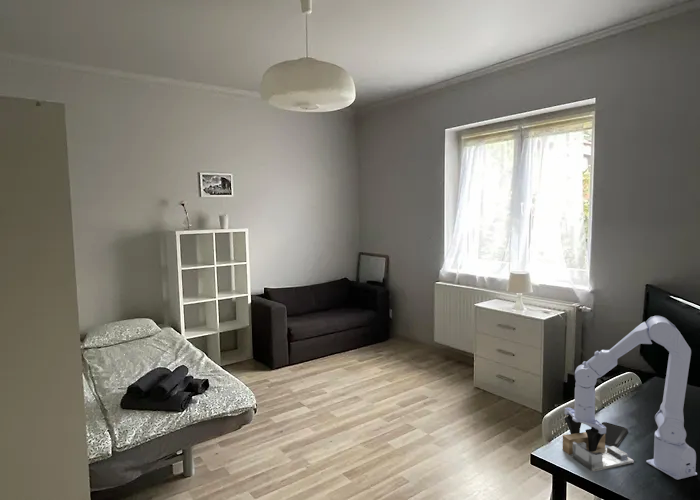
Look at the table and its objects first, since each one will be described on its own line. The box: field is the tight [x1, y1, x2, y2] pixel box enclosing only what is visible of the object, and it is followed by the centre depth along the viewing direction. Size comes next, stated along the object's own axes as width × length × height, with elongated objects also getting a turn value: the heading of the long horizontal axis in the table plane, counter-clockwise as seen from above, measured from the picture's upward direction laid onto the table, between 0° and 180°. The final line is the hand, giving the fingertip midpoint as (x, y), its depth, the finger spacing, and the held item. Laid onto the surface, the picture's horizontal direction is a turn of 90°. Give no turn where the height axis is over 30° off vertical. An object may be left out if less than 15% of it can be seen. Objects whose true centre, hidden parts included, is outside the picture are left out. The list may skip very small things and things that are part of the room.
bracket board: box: [571, 442, 634, 473], centre depth 131 cm, size 15×8×5 cm, turn 106°
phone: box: [601, 421, 628, 448], centre depth 147 cm, size 8×1×15 cm
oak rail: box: [562, 431, 606, 456], centre depth 138 cm, size 13×3×5 cm, turn 102°
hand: (583, 445), depth 138 cm, fingers open, 6 cm apart
